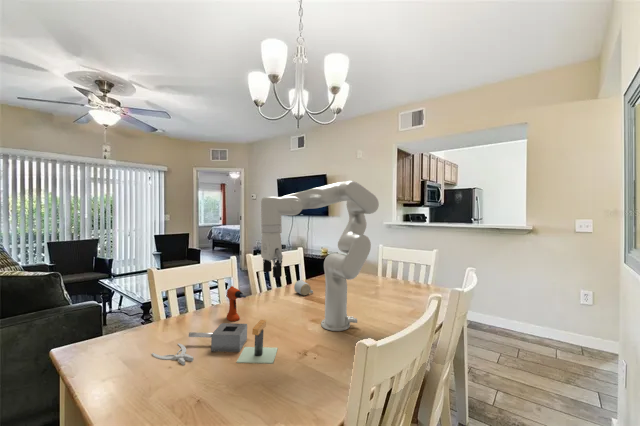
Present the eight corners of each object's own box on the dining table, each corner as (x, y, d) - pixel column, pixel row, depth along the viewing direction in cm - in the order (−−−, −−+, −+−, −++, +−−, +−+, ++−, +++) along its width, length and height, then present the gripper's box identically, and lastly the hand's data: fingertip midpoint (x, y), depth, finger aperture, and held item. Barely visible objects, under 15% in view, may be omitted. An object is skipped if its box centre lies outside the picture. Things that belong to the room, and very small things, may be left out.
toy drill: (240, 327, 118) (239, 290, 119) (224, 319, 133) (223, 286, 134) (251, 324, 121) (250, 288, 122) (235, 316, 136) (234, 284, 137)
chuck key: (250, 358, 96) (251, 328, 95) (258, 348, 102) (259, 319, 102) (258, 360, 95) (259, 329, 94) (266, 349, 102) (267, 320, 101)
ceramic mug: (300, 297, 166) (301, 283, 166) (293, 293, 172) (294, 280, 172) (315, 294, 172) (316, 281, 172) (308, 291, 178) (308, 278, 178)
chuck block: (246, 339, 111) (247, 323, 111) (239, 352, 101) (239, 335, 101) (195, 338, 111) (195, 322, 111) (182, 350, 101) (183, 333, 101)
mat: (277, 348, 104) (277, 347, 104) (273, 363, 94) (273, 362, 94) (244, 348, 104) (244, 346, 104) (236, 362, 94) (236, 361, 94)
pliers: (179, 340, 106) (202, 353, 97) (179, 344, 106) (202, 358, 97) (151, 351, 98) (173, 365, 89) (151, 355, 98) (173, 370, 89)
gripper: (254, 228, 114) (255, 271, 114) (270, 231, 99) (271, 280, 99) (272, 227, 118) (272, 268, 118) (290, 230, 103) (291, 277, 103)
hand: (272, 274), depth 109 cm, fingers open, 9 cm apart
